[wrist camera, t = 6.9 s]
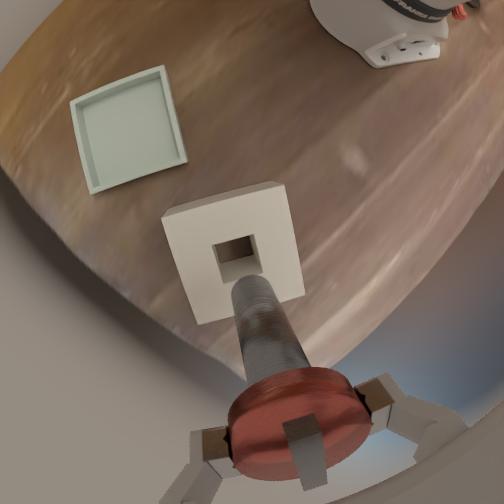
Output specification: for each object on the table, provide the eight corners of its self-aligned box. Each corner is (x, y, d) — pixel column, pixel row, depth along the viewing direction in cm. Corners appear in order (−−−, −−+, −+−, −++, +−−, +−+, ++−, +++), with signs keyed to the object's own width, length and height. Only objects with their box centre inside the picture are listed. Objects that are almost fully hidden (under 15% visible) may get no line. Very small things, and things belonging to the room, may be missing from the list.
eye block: (270, 180, 32) (284, 184, 26) (290, 274, 36) (305, 294, 30) (168, 208, 31) (160, 218, 26) (198, 299, 35) (198, 325, 30)
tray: (167, 72, 26) (164, 64, 24) (189, 161, 30) (187, 161, 27) (80, 105, 26) (69, 101, 23) (99, 191, 29) (90, 195, 26)
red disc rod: (292, 313, 21) (374, 466, 8) (226, 331, 21) (255, 503, 8) (279, 250, 20) (388, 400, 7) (206, 271, 19) (213, 455, 6)
